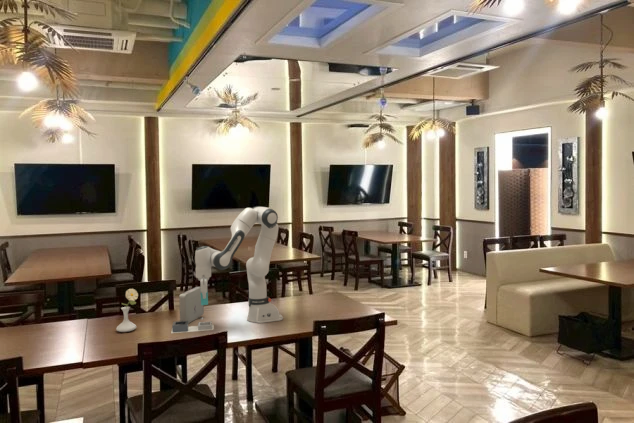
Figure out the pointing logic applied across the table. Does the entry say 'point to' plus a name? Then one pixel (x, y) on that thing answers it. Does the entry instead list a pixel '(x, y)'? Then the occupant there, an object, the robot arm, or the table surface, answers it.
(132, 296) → the flower in vase
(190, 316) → the network device
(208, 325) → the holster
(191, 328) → the board
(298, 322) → the table surface
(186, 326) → the port
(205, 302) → the plug
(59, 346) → the table surface
